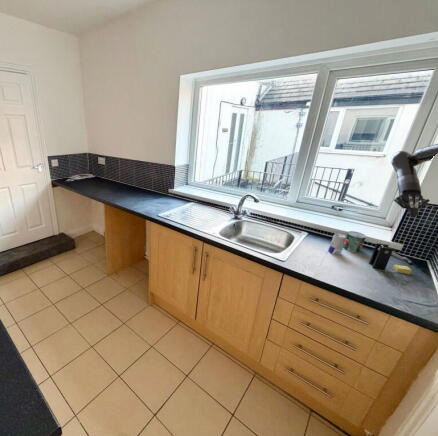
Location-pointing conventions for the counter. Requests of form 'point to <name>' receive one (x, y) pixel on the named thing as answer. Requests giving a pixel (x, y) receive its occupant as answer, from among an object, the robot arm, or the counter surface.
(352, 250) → the canned tomato
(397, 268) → the butter
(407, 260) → the blade
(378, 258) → the slicer
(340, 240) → the energy drink
